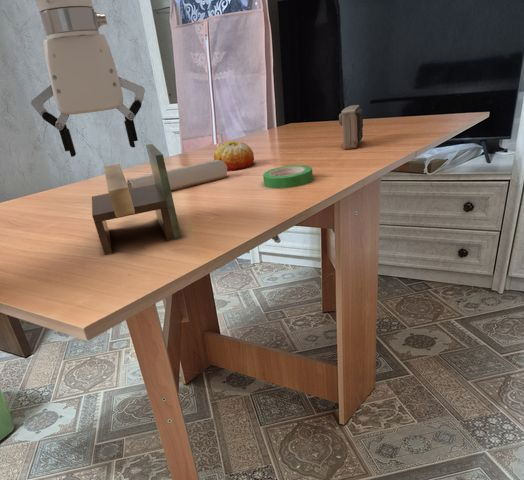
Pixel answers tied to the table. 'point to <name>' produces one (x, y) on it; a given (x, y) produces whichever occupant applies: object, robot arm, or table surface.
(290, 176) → the tape roll
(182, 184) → the tube
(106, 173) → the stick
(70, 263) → the table surface
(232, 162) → the fruit
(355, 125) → the camera
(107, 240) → the miniature wooden chair
